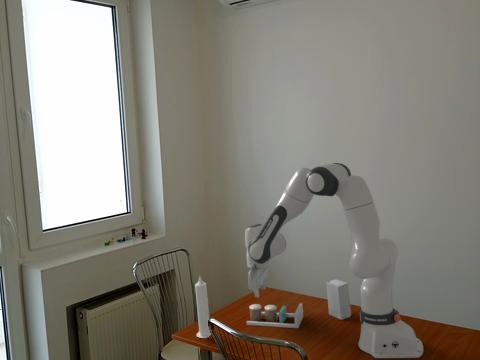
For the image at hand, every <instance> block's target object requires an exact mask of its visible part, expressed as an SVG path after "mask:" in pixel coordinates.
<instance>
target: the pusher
mask: <svg viewBox="0 0 480 360" xmlns="http://www.w3.org/2000/svg"><path fill="white" fill-rule="evenodd" d="M278 313H279V316H278V318H279V323H285V321H286V319H287V317H286V316H289V314H286V313H287V305H283V304H282V307H281V308H280V310H279V312H278Z"/></svg>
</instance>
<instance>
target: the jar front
mask: <svg viewBox="0 0 480 360" xmlns="http://www.w3.org/2000/svg"><path fill="white" fill-rule="evenodd" d="M264 312H265V316H264V317H265V322H272V323H278V316H277V313H278V310H277V305H275V304H267V305H265V306H264Z"/></svg>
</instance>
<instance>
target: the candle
mask: <svg viewBox="0 0 480 360" xmlns="http://www.w3.org/2000/svg"><path fill="white" fill-rule="evenodd" d="M194 289H195V298H196V299H195V300H196V309H197V319H198V321H197V322H198V332H196V338H197V337H199V338H207V337H209V336H210V335H211V333H210V330H211V329H210V330H209V327H208V320H209V321H210V312H209V311H210V310H209V297H208V288H207V283H206V282H204V281H203V280H202V277H201V276H199V277H198V281H197V282H196V283H195V284H194ZM199 338H198V339H199Z"/></svg>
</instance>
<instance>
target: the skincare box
mask: <svg viewBox="0 0 480 360" xmlns="http://www.w3.org/2000/svg"><path fill="white" fill-rule="evenodd" d="M325 284H326V285H325V286H326V296H327V305H328V307H327V308H328V315H329V316H332V317H334V318H336V319H338V320H341V321H342V320H344V319H348V318H351V317H352V309H351V300H350V292H349V291H350V290H349V282H346V281H343V280H340V279H336V278H335V279H333V280H332V279H331V280H330V281H329V280H328V281H326V282H325Z"/></svg>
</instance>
